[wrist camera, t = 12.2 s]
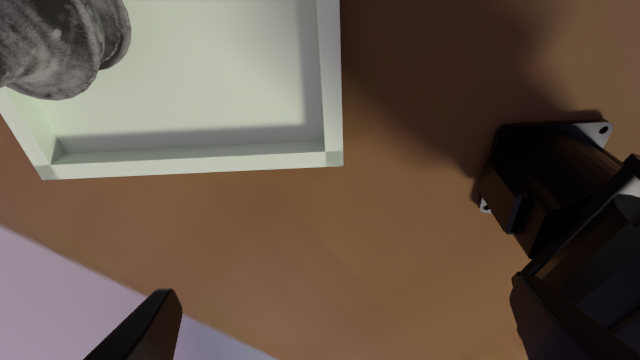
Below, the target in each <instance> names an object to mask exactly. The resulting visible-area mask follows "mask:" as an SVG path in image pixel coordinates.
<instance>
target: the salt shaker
mask: <svg viewBox="0 0 640 360" xmlns="http://www.w3.org/2000/svg"><path fill="white" fill-rule="evenodd" d="M130 42H131V25H130V20H129V16H128V12H127V10H126V8H125V5H124V3H123V1H122V0H0V88H2V87H4V86H6V87H8V88H10V89H12V90H14V91H16V92H18V93H20V94H23V95H27V96H30V97H33V98H37V99H42V100H55V101H58V100H64V99H69V98H73V97H75V96H77V95H79V94H80V93H82V92H84V91H86V90H87V89H88V88H89V86H90V85H91V84H92V83H93V81H94V80H95V79H96V76H97V73H98V71H99V70H104V69H109V68H110V67H112V66H114V65H115V64H117V63H119V62H120V61H121V60H122V58H123V57H124V56H125V55H126V54H127V51H128V48H129V45H130Z"/></svg>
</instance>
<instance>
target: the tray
mask: <svg viewBox="0 0 640 360" xmlns="http://www.w3.org/2000/svg"><path fill="white" fill-rule="evenodd" d="M122 1H123V3H124V5H125V8H126V10H127V12H128V16H129V20H130V25H131V42H130V45H129V48H128V51H127V54H126V55H125V56H124V57H123V58H122V60H121V61H120V62H119V63H117V64H115V65H114V66H112V67H110V68H109V69H104V70H99V71H98V73H97V76H96V79H95V80H94V81H93V83H92V84H91V85H90V86H89V88H88V89H87V90H86V91H84V92H82V93H80V94H79V95H77V96H75V97H73V98H69V99H64V100H58V101H55V100H42V99H37V98H33V97H30V96H27V95H23V94H20V93H18V92H16V91H14V90H12V89H10V88H8V87H6V86H4V87H2V88H0V113H1V115H2V116H3V118H4V120H5V121H6V123H7V124H8V126H9V127H10V129H11V131H12V132H13V134H14V135H15V137H16V139H17V140H18V142H19V143H20V145H21V147H22V148H23V150H24V151H25V153H26V155H27V156H28V158H29V159H30V161H31V162H32V164H33V166H34V167H35V169H36V170H37V172H38V174H39V175H40V177H41V178H42V180H54V179H75V178H96V177H118V176H139V175H160V174H182V173H203V172H224V171H246V170H267V169H288V168H310V167H331V166H343V128H342V86H341V44H340V2H339V0H122Z"/></svg>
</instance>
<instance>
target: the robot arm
mask: <svg viewBox="0 0 640 360" xmlns="http://www.w3.org/2000/svg"><path fill="white" fill-rule="evenodd" d="M603 126H604V127H603ZM602 127H603V128H602ZM600 128H602V129H601V130H600ZM612 129H613V124H612V123H610V122H609V121H607V120H605V119H597V120H577V121H557V122H537V123H517V124H505V125H502V126H500V127H499V128H498V129H497V131H496V134H495V138H494V142H493V146H492V150H491V154H490V157H489V158H488V159H487V160H486V163H485V167H484V171H483V175H482V179H481V183H480V187H479V193H480V196H479V200H478V208H479V209H480V211H481V212H483V213H492V214H493V215H494V217H495V218H496V220H497V221H498V223H499V225H500V226H501V228H502V229H503V231H504V232H505V233H506V234H513V235H514V236H515V238H516V240H517V241H518V243H519V244H520V246H521V247H522V249H523V250H524V252H525V253H526V255H527V256H528V258H529V259H532V260H531V261H530V262H529V263H528V264H527V265H526V266H525V267H524V268H523V270H522V271H521V272H517V273H516V274H515V275H514V276H513V277H512V285H513V289H512V291H511V294H510V305H511V308H512V311H513V314H514V317H515V320H516V324H517V332H518V335H519V337H520V338H521V340H522V342H523V345H524V348H525V351H526V354H527V356H528V359H529V360H640V155H637V154H634V153H632V154H631V155H630V156H629V157H628V158H627V159H626V160H625V161H624V162H623V163H622V162H621V161H620V160H618V159H617V158H616V157H614V156H613V155H611V154H610V153H609V152H607V151H606V150H604V147H605V144H606V142H607V140H608V138H609V136H610V134H611V132H612ZM506 131H509V132H508V134H506V135H504V136H503V134H504V133H505V132H506ZM485 205H487V206H485ZM484 206H485V207H484ZM181 319H182V306H181V304H180V302H179V299H178V297H177V295H176V293H175V291H174V290H173V289H171V288H168V289H157V290H155V291H154V292H153V293H152V294H151V295H150V296H149V297H148V298H147V299H146V300H145V301H144V302H142V303H141V304H140V305H139V306H138V307H137V308H136V309H135V310H134V311H133V312H132V313H131V314H130V315H129V316H128V317H127V318H126V319H125V320H124V321H123V322H122V323H121V324H120V325H119V326H117V328H116V329H114V330H113V331H112V332H111V333H110V334H109V335H108V336H107V337H106V338H105V339H104V340H103V341H102V342H101V343H100V344H99V345H98V346H97V347H96V348H94V350H92V351H91V352H90V353H89V354H88V355H87V356H86V357H85V358H84V359H83V360H173V357H174V352H175V347H176V343H177V338H178V332H179V328H180V324H181Z"/></svg>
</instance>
